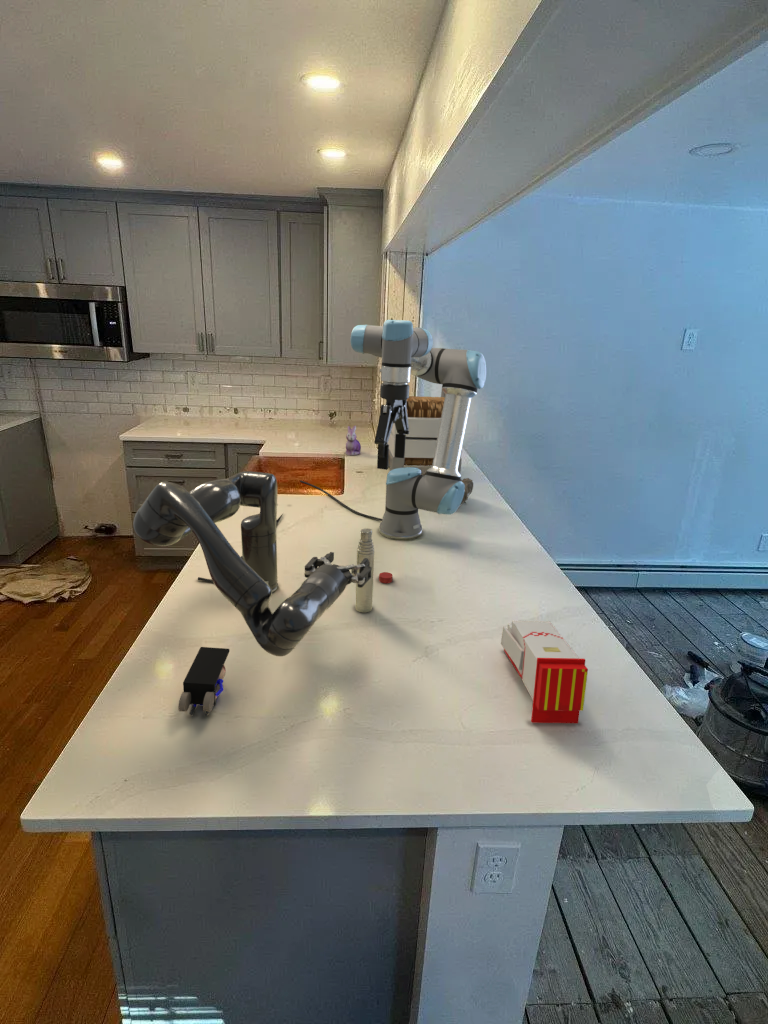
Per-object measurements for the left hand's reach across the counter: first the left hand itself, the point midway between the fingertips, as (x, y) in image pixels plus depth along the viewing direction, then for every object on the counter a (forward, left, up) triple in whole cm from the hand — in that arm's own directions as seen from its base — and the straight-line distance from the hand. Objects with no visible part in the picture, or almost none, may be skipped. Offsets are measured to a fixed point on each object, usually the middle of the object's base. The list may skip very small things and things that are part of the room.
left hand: (349, 558), depth 132 cm
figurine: (-62, +166, -19) cm, 178 cm away
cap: (0, +29, -18) cm, 34 cm away
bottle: (0, +12, -19) cm, 23 cm away
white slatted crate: (-19, +145, -19) cm, 148 cm away
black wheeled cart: (-17, -34, -19) cm, 43 cm away
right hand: (0, +29, +16) cm, 34 cm away
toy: (+45, -4, -19) cm, 49 cm away
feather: (-51, +63, -19) cm, 83 cm away
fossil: (+6, +108, -19) cm, 110 cm away
